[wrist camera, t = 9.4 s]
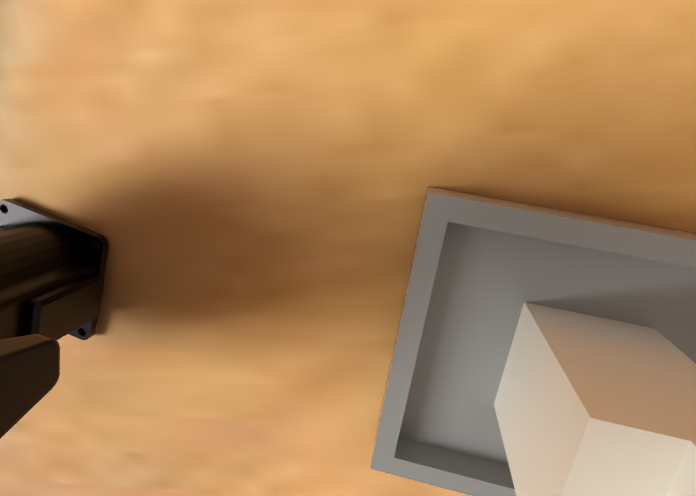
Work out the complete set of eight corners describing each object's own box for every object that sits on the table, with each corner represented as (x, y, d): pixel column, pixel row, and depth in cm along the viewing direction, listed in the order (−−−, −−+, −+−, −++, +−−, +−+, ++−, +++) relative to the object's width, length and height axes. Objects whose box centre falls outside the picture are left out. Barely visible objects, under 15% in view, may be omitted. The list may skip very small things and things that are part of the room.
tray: (375, 439, 23) (370, 468, 21) (428, 186, 19) (428, 192, 17) (690, 520, 21) (718, 561, 19) (826, 256, 17) (881, 273, 15)
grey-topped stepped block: (493, 404, 20) (579, 750, 9) (524, 302, 19) (674, 564, 7) (626, 435, 20) (904, 858, 8) (669, 331, 18) (1091, 677, 7)
